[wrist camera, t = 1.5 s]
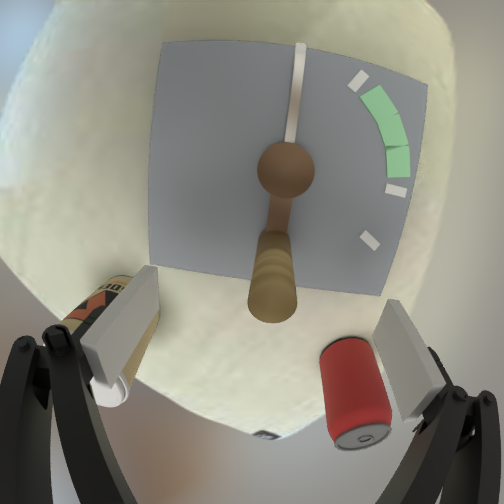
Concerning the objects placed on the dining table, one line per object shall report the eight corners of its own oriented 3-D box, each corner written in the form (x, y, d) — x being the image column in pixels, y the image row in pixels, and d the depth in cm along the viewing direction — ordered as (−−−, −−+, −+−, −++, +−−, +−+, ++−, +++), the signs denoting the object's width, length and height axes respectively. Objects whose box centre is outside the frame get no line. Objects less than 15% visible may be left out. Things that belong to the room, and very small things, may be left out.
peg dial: (272, 52, 16) (270, 2, 8) (326, 61, 16) (357, 18, 8) (247, 253, 22) (232, 317, 15) (295, 260, 22) (304, 327, 15)
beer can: (336, 379, 32) (348, 457, 21) (308, 355, 30) (315, 443, 19) (379, 353, 29) (405, 432, 18) (354, 326, 28) (381, 415, 17)
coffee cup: (168, 280, 27) (116, 363, 16) (166, 343, 31) (131, 420, 20) (96, 259, 27) (29, 320, 16) (102, 321, 31) (56, 384, 20)
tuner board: (171, 46, 18) (162, 39, 16) (417, 84, 17) (428, 81, 15) (157, 255, 26) (149, 265, 24) (374, 285, 25) (380, 297, 23)
